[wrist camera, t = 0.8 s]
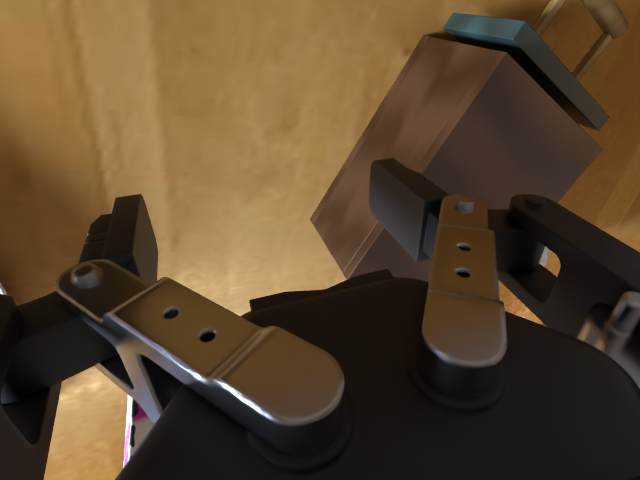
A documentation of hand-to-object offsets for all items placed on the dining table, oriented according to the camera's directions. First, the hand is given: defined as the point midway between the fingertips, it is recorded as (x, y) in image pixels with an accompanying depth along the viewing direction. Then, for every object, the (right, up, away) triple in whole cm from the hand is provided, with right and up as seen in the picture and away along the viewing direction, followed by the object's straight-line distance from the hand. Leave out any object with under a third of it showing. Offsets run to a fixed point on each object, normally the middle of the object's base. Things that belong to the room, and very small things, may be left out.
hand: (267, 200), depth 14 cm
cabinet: (+11, +6, +23) cm, 26 cm away
